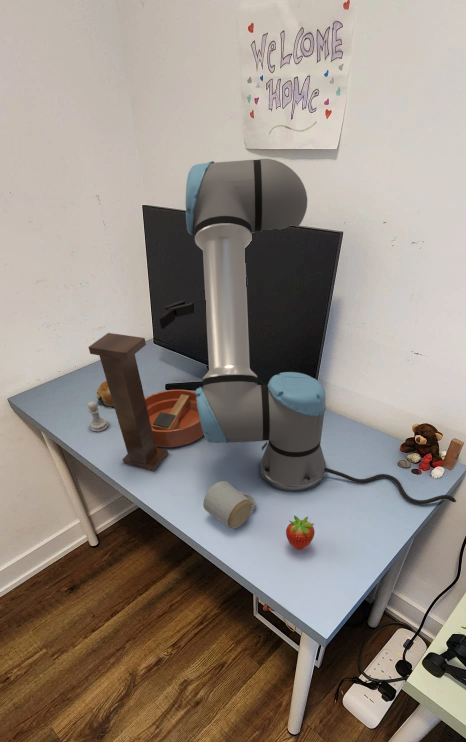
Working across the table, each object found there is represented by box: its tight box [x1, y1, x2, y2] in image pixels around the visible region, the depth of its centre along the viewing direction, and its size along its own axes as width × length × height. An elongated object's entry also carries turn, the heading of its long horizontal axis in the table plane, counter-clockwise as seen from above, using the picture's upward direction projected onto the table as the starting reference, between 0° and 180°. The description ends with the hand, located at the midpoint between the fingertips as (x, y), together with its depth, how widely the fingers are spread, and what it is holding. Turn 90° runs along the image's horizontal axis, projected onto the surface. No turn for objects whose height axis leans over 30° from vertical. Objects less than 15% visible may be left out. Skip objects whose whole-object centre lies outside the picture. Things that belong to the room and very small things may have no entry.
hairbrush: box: [152, 394, 190, 430], centre depth 115 cm, size 5×15×4 cm, turn 158°
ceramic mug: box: [202, 480, 257, 529], centre depth 89 cm, size 11×8×8 cm
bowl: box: [145, 389, 204, 448], centre depth 115 cm, size 20×20×6 cm
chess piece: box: [87, 401, 109, 432], centre depth 115 cm, size 5×5×8 cm
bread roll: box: [96, 379, 114, 408], centre depth 127 cm, size 10×10×8 cm
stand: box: [88, 332, 169, 472], centre depth 96 cm, size 9×7×30 cm
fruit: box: [285, 515, 316, 551], centre depth 82 cm, size 5×5×8 cm
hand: (184, 326), depth 109 cm, fingers open, 13 cm apart
